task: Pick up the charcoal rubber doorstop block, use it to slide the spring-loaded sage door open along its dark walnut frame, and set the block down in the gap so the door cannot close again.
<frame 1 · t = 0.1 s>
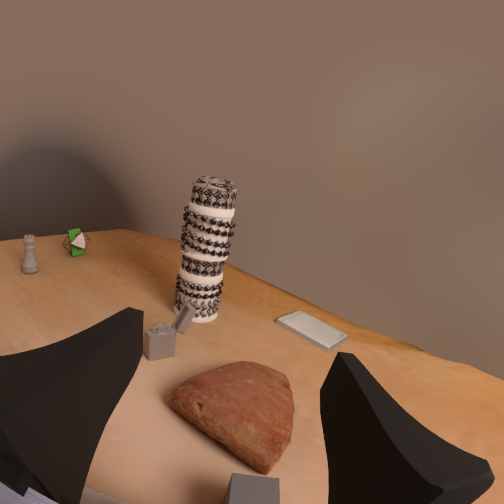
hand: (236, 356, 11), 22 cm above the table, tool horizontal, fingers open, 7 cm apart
lighter: (168, 354, 43), on the table
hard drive: (311, 334, 59), on the table
geometric puzzle: (75, 254, 71), on the table
rook chess piece: (30, 271, 55), on the table
decorative candle: (195, 312, 58), on the table
ceramic shard: (249, 416, 35), on the table
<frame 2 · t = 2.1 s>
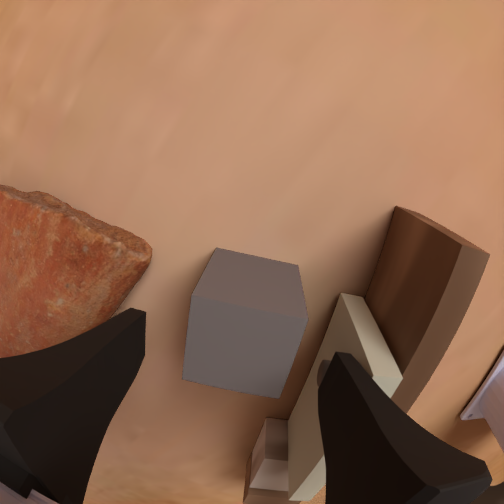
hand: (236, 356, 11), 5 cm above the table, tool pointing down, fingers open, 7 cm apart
doorstop block: (249, 292, 16), on the table
sliding door: (320, 408, 14), point 3 cm above the table, slide at 0.0 cm, touching gripper
ceramic shard: (27, 244, 16), on the table
door frame: (319, 369, 17), on the table
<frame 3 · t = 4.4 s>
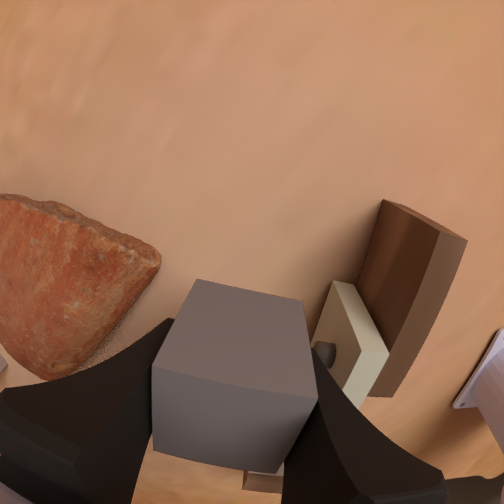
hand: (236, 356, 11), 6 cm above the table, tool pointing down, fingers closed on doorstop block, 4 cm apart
doorstop block: (239, 333, 12), point 5 cm above the table, touching gripper
sliding door: (315, 389, 15), point 3 cm above the table, slide at 0.0 cm
ceramic shard: (39, 249, 18), on the table
door frame: (314, 354, 18), on the table
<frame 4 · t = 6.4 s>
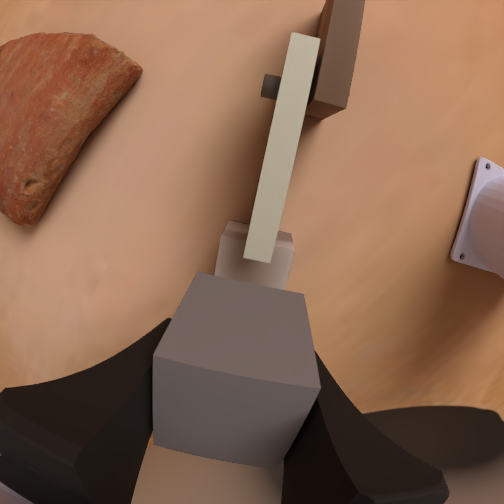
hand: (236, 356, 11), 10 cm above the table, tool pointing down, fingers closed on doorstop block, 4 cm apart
doorstop block: (240, 327, 12), point 9 cm above the table, touching gripper
sliding door: (271, 144, 15), point 3 cm above the table, slide at 0.0 cm
ceramic shard: (40, 98, 18), on the table
door frame: (277, 149, 18), on the table
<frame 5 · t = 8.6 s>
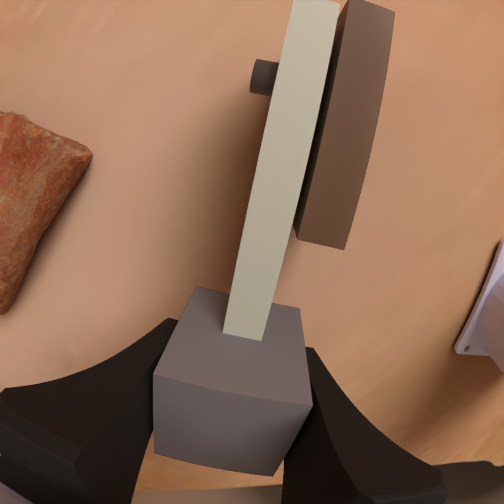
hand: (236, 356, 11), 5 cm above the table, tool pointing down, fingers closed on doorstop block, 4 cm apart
doorstop block: (238, 339, 12), point 4 cm above the table, touching gripper, sliding door
sliding door: (266, 160, 10), point 3 cm above the table, slide at 4.1 cm, touching doorstop block
door frame: (256, 247, 15), on the table
when the fingers open (2 cm above the table, at t = 10.0 s): doorstop block stays where it is, resting on door frame, sliding door.
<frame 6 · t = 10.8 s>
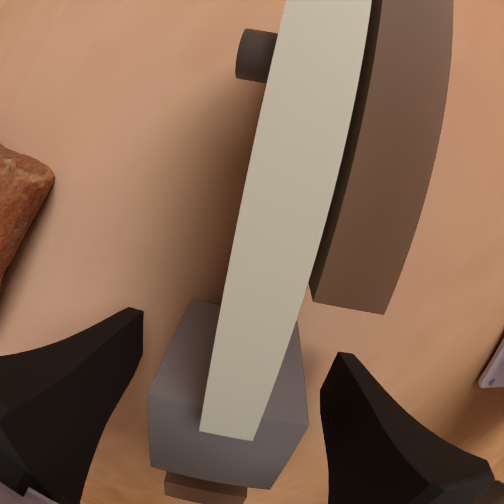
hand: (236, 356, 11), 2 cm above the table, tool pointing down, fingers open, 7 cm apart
doorstop block: (235, 351, 12), point 1 cm above the table, touching door frame, sliding door
sliding door: (261, 180, 7), point 3 cm above the table, slide at 3.8 cm, touching doorstop block
door frame: (252, 277, 12), on the table
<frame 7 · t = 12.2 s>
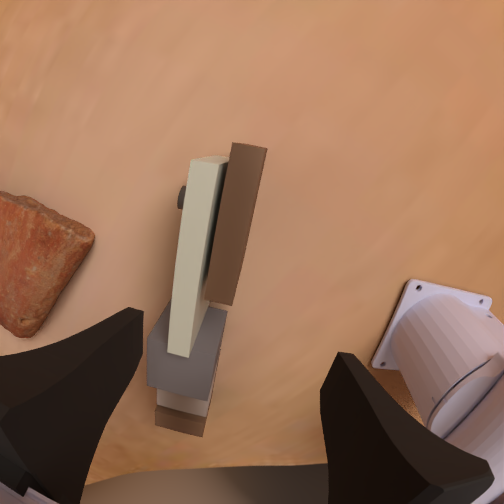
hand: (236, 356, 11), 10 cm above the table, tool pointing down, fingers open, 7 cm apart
doorstop block: (195, 327, 22), point 1 cm above the table, touching door frame, sliding door
sliding door: (194, 248, 17), point 3 cm above the table, slide at 3.8 cm, touching doorstop block
ceramic shard: (17, 232, 22), on the table
door frame: (203, 287, 21), on the table
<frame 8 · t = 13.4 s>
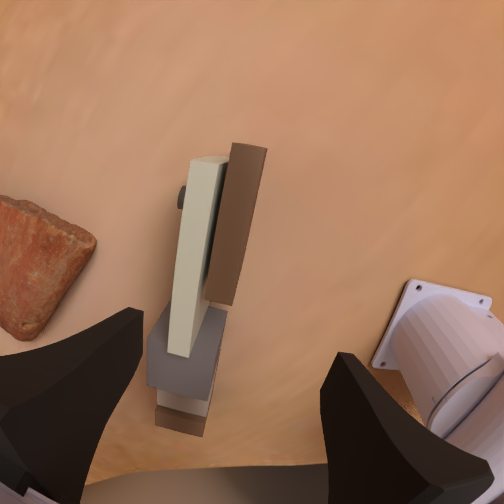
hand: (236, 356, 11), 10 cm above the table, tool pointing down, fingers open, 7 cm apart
doorstop block: (195, 327, 22), point 1 cm above the table, touching door frame, sliding door
sliding door: (194, 248, 17), point 3 cm above the table, slide at 3.8 cm, touching doorstop block
ceramic shard: (18, 236, 22), on the table
door frame: (203, 287, 21), on the table
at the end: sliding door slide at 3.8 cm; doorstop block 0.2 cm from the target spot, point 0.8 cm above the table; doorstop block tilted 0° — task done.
